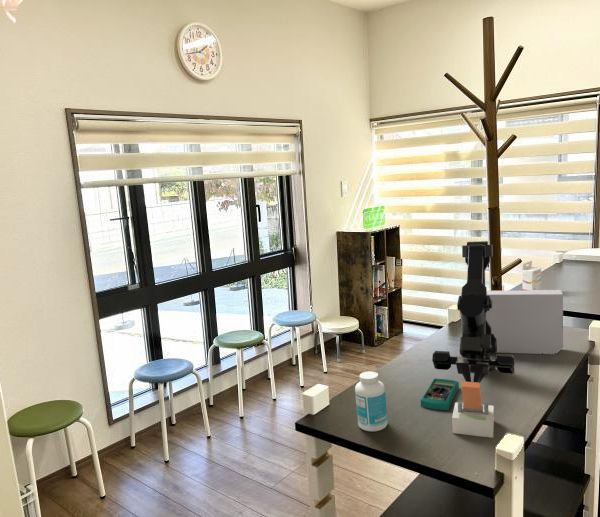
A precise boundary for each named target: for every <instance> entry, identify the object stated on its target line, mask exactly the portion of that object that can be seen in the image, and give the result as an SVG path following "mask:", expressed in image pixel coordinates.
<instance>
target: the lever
mask: <svg viewBox="0 0 600 517" xmlns="http://www.w3.org/2000/svg"><path fill="white" fill-rule="evenodd" d="M460 387H461V388H460V389H461V396H462V403H463V411H472V412H483V406H482V405H483V403H482V402H483V400H482V391H481V382H480V383H477V382H473V381H471V382H466V381H465V380H464V381H461V382H460Z"/></svg>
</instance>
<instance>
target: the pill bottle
mask: <svg viewBox="0 0 600 517" xmlns="http://www.w3.org/2000/svg"><path fill="white" fill-rule="evenodd" d="M379 378H380V377H379V373H378V372H376V371H369V370H368V371H363V372H361V373H360V374H359V382H357V383H356V384H355V387H354V393H355V403H356V415H357V416H356V417H357V424H358V427H359V428H360V429H361V430H364V431H366V432H378V431H382V430H384V429H385V428H386V427H387V425H388V424H389V423H388V408H387V399H386V398H387V397H386V396H387V394H386V386H385V384H384V383H383V382H382V381H380V380H379Z"/></svg>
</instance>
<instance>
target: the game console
mask: <svg viewBox="0 0 600 517" xmlns="http://www.w3.org/2000/svg"><path fill="white" fill-rule="evenodd" d="M487 296H490V299H491V300H492V309H490V310H489V311H487V313H486V320H487V322H488V323H489V325H490V326H491V329H492V334H494V336H495V338H496V339H497V352H496V353H498V354H529V355H530V354H531V355H532V354H533V355H535V354H536V355H537V354H538V355H549V354H548V353H556V354H558V353H559V352H560V351H561V350H562V349H563V348H564V293H563V292H562V290H561V289H541V290H527V291H523V290H487ZM542 353H543V354H542Z"/></svg>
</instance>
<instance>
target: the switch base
mask: <svg viewBox="0 0 600 517" xmlns="http://www.w3.org/2000/svg"><path fill="white" fill-rule="evenodd" d="M482 406H483V412H472V411H463V400H458V401H457V402H454V408H453V413H452V417H451V421H452V423H451V425H452V434H456V435H457V434H458V435H466V436H474V437H483V438H484V437H485V438H492V439H493V438H494V432H495V431H494V430H495V429H494V428H495V409H494V408H495V407H494V405H489V403H487V402H484V404H482Z"/></svg>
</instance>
